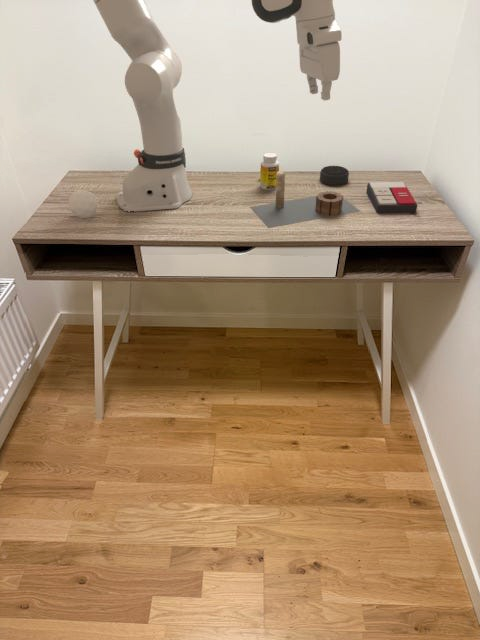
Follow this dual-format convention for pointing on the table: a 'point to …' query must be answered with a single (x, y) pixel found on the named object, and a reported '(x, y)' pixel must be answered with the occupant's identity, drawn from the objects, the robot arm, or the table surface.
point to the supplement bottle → (269, 171)
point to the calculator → (391, 197)
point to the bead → (329, 203)
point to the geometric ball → (83, 204)
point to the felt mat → (295, 212)
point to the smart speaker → (334, 175)
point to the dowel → (280, 189)
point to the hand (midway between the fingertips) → (319, 96)
